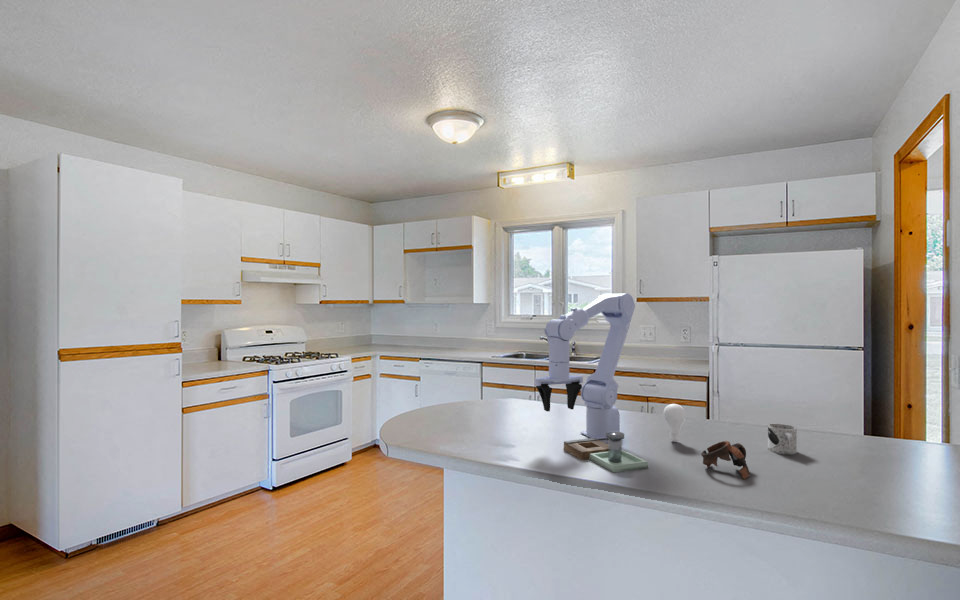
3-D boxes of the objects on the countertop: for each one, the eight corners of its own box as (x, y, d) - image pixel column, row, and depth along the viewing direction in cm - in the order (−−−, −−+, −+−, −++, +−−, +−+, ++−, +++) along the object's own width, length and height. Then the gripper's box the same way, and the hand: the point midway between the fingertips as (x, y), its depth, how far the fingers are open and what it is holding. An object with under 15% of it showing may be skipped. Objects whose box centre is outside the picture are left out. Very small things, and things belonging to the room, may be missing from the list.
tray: (622, 455, 128) (622, 449, 128) (647, 467, 119) (647, 461, 119) (589, 459, 125) (589, 453, 125) (613, 472, 116) (613, 466, 116)
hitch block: (594, 445, 137) (594, 437, 137) (614, 455, 128) (614, 446, 128) (563, 449, 133) (563, 441, 133) (581, 459, 125) (581, 450, 125)
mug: (764, 446, 137) (764, 422, 137) (790, 448, 136) (790, 424, 136) (778, 457, 127) (778, 432, 127) (806, 459, 126) (806, 433, 126)
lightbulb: (662, 443, 139) (663, 405, 139) (663, 438, 145) (663, 401, 145) (686, 446, 137) (686, 407, 137) (685, 440, 143) (685, 402, 143)
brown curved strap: (742, 485, 109) (721, 451, 111) (708, 491, 117) (689, 459, 118) (765, 461, 116) (745, 430, 118) (732, 468, 124) (713, 438, 125)
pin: (613, 456, 126) (613, 430, 126) (627, 461, 122) (627, 434, 122) (602, 459, 123) (602, 433, 123) (616, 464, 120) (616, 437, 119)
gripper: (573, 359, 144) (573, 404, 144) (529, 361, 139) (529, 408, 139) (587, 361, 137) (586, 410, 137) (541, 364, 132) (541, 414, 132)
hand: (558, 409), depth 138 cm, fingers open, 7 cm apart
